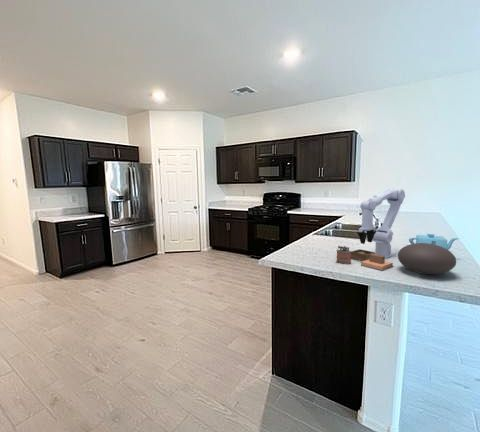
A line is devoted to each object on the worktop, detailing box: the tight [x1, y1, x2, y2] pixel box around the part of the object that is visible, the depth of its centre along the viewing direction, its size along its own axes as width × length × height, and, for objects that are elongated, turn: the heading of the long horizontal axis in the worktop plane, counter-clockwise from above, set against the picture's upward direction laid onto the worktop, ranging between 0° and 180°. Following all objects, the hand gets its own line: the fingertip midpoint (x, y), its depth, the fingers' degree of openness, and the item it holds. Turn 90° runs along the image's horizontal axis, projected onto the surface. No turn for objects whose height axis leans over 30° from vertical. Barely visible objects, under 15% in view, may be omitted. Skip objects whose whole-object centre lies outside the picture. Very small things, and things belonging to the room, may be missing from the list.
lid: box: [360, 254, 394, 271], centre depth 148 cm, size 12×12×6 cm
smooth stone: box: [397, 242, 457, 275], centre depth 136 cm, size 25×25×15 cm
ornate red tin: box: [335, 245, 352, 265], centre depth 154 cm, size 8×3×10 cm, turn 59°
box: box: [350, 248, 375, 262], centre depth 162 cm, size 10×10×4 cm
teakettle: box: [408, 233, 460, 251], centre depth 162 cm, size 19×19×15 cm
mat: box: [360, 264, 394, 272], centre depth 148 cm, size 12×12×1 cm
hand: (366, 242), depth 160 cm, fingers open, 7 cm apart
